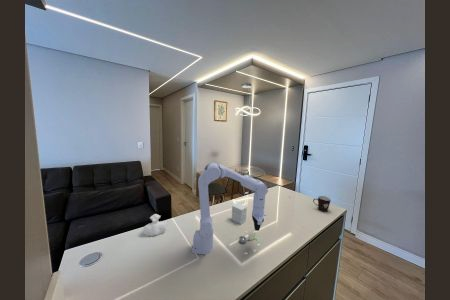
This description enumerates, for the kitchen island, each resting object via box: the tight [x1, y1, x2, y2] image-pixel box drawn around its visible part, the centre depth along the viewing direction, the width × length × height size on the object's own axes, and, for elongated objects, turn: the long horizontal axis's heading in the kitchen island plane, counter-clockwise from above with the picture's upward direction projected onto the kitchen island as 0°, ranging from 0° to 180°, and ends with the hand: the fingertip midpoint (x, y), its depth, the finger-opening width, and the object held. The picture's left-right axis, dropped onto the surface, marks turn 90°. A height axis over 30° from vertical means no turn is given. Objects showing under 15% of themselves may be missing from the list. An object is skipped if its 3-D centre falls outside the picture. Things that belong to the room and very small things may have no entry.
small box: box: [231, 203, 248, 225], centre depth 109 cm, size 8×6×10 cm
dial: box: [243, 230, 261, 255], centre depth 90 cm, size 18×18×1 cm
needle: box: [238, 230, 256, 245], centre depth 91 cm, size 9×4×4 cm, turn 116°
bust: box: [143, 213, 168, 237], centre depth 95 cm, size 12×8×11 cm
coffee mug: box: [312, 195, 332, 213], centre depth 131 cm, size 12×9×10 cm
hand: (256, 229), depth 86 cm, fingers closed
